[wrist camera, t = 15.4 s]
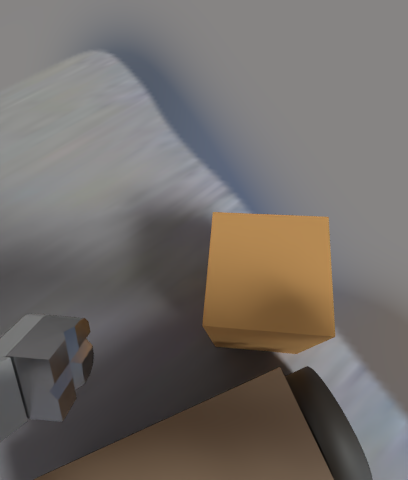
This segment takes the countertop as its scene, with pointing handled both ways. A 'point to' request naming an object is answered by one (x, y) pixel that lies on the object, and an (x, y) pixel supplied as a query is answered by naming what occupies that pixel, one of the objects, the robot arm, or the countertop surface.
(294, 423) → the trolley
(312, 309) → the block
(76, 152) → the countertop surface
